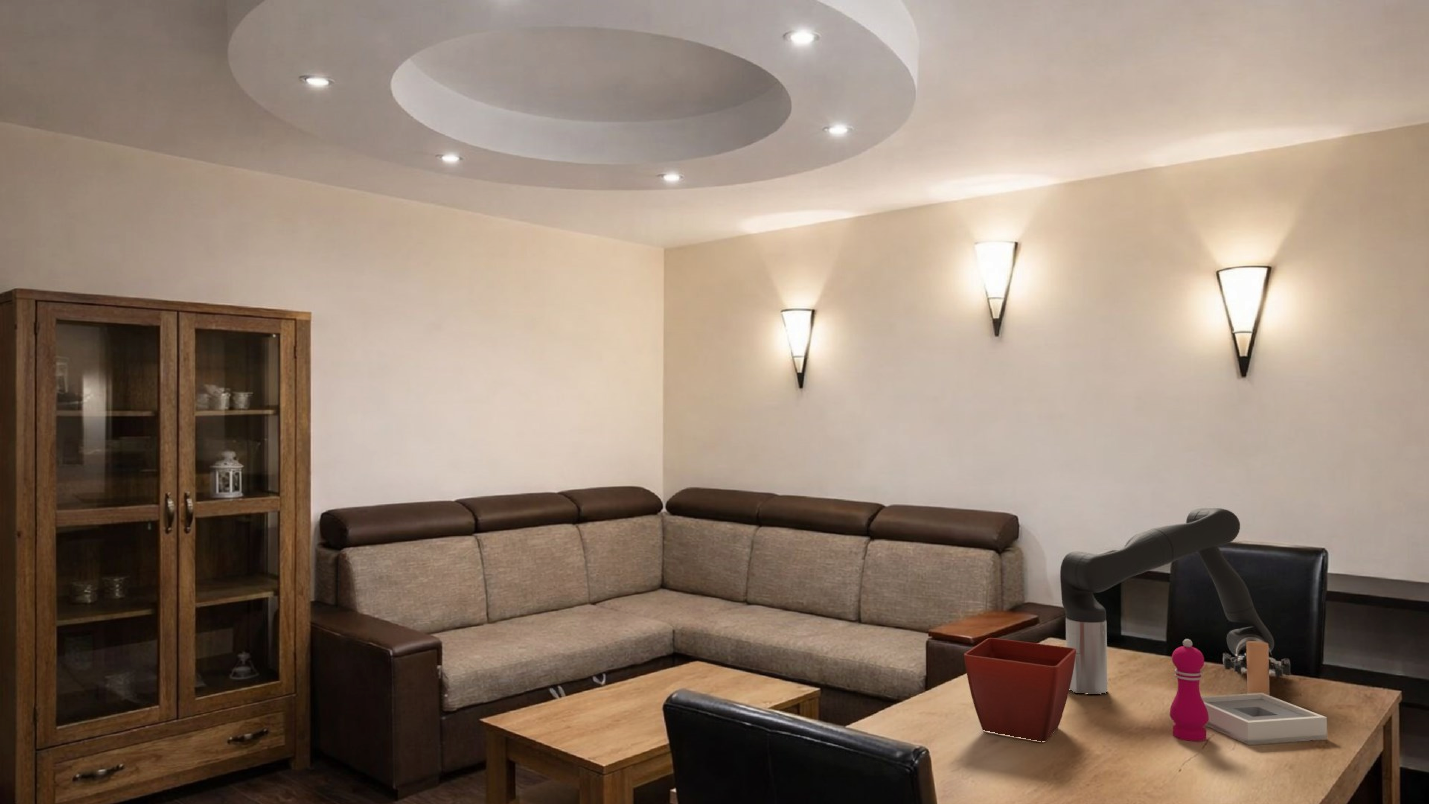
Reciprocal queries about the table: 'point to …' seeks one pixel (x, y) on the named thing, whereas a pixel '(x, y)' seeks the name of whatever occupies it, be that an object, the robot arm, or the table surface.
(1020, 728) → the plant pot
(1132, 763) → the table surface
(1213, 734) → the table surface
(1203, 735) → the pepper mill
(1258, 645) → the peg
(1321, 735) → the tray
